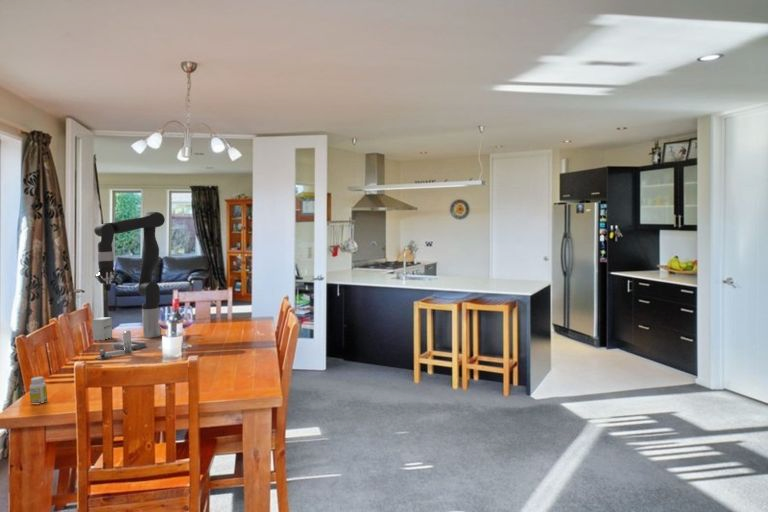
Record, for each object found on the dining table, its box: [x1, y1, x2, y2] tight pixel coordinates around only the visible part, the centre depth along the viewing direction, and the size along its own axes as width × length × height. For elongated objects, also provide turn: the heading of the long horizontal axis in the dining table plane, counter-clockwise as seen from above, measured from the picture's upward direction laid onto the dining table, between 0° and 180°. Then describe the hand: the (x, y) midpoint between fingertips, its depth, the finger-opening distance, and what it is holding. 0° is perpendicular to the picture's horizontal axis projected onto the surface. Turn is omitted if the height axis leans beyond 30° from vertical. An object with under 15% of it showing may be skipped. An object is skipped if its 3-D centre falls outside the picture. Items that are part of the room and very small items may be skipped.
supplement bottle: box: [29, 376, 48, 404], centre depth 195 cm, size 5×5×10 cm
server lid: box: [113, 340, 147, 351], centre depth 281 cm, size 9×14×2 cm, turn 65°
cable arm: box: [99, 330, 133, 357], centre depth 264 cm, size 14×4×11 cm, turn 126°
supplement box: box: [92, 316, 113, 342], centre depth 303 cm, size 7×7×13 cm
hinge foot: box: [96, 356, 113, 361], centre depth 260 cm, size 6×6×1 cm
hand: (107, 290), depth 285 cm, fingers closed
